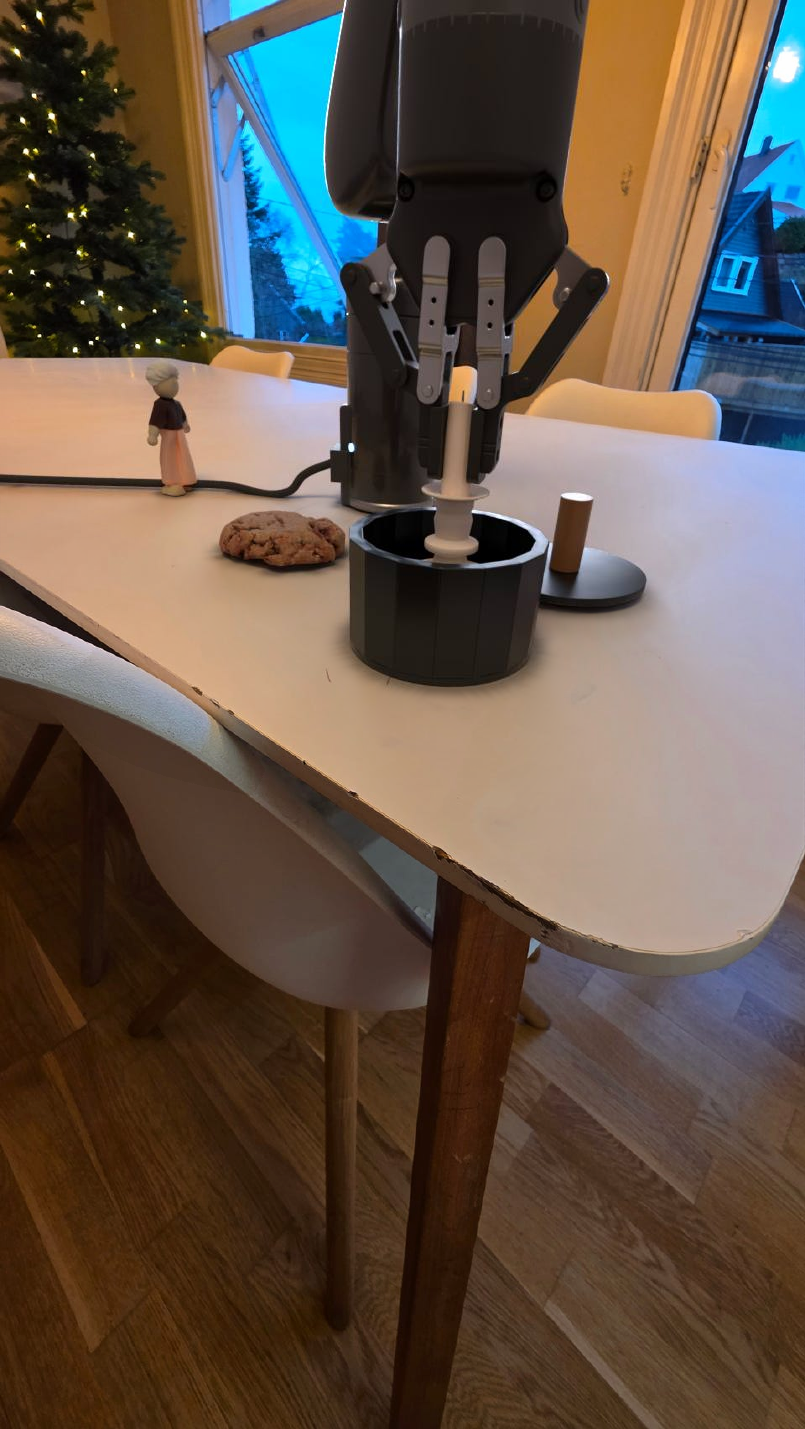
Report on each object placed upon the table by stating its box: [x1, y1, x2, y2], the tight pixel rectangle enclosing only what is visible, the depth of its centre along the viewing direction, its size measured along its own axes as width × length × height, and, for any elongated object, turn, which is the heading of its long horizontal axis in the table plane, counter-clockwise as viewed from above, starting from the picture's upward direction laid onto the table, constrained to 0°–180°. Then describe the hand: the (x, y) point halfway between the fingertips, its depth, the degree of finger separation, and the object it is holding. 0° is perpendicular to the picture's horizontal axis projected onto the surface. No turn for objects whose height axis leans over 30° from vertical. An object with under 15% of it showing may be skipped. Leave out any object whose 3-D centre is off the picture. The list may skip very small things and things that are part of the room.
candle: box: [421, 389, 491, 564], centre depth 35 cm, size 5×5×10 cm
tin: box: [348, 506, 550, 687], centre depth 39 cm, size 12×12×7 cm
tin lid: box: [540, 492, 648, 608], centre depth 48 cm, size 13×13×7 cm
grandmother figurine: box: [145, 358, 198, 497], centre depth 66 cm, size 8×4×13 cm, turn 179°
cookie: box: [218, 510, 346, 567], centre depth 53 cm, size 10×11×3 cm
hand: (456, 477), depth 35 cm, fingers closed on candle
